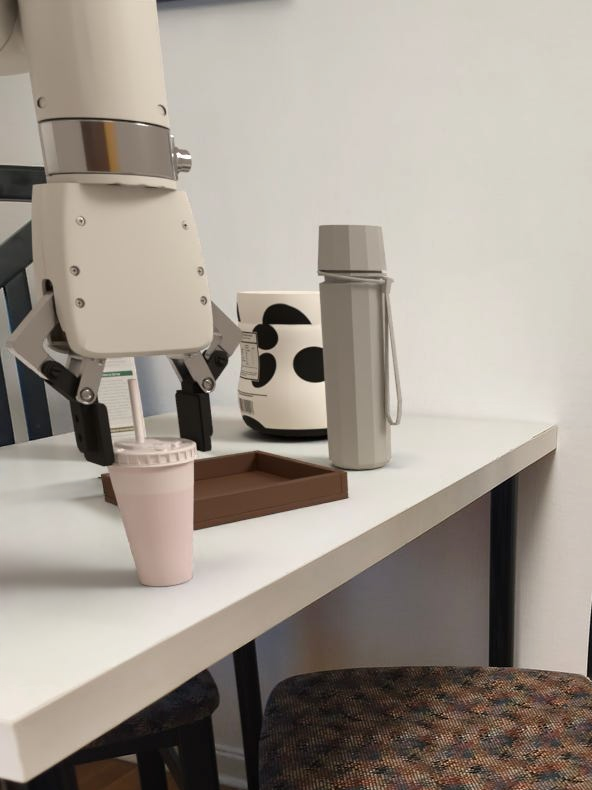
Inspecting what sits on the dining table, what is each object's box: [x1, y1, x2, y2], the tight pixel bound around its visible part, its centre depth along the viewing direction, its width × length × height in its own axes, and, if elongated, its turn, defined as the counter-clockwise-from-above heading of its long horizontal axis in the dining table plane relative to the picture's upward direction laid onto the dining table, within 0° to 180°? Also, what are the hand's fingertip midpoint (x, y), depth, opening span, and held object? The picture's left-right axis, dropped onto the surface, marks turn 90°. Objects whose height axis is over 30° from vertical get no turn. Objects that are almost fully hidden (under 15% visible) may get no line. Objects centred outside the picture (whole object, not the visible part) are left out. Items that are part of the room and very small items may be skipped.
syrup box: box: [66, 354, 148, 479], centre depth 95 cm, size 6×6×14 cm
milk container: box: [236, 290, 328, 438], centre depth 119 cm, size 17×17×18 cm
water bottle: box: [316, 224, 403, 471], centre depth 97 cm, size 9×8×25 cm
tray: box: [100, 449, 349, 531], centre depth 87 cm, size 18×16×3 cm
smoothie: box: [106, 379, 200, 587], centre depth 62 cm, size 6×6×14 cm
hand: (149, 453), depth 61 cm, fingers closed on smoothie, 6 cm apart
